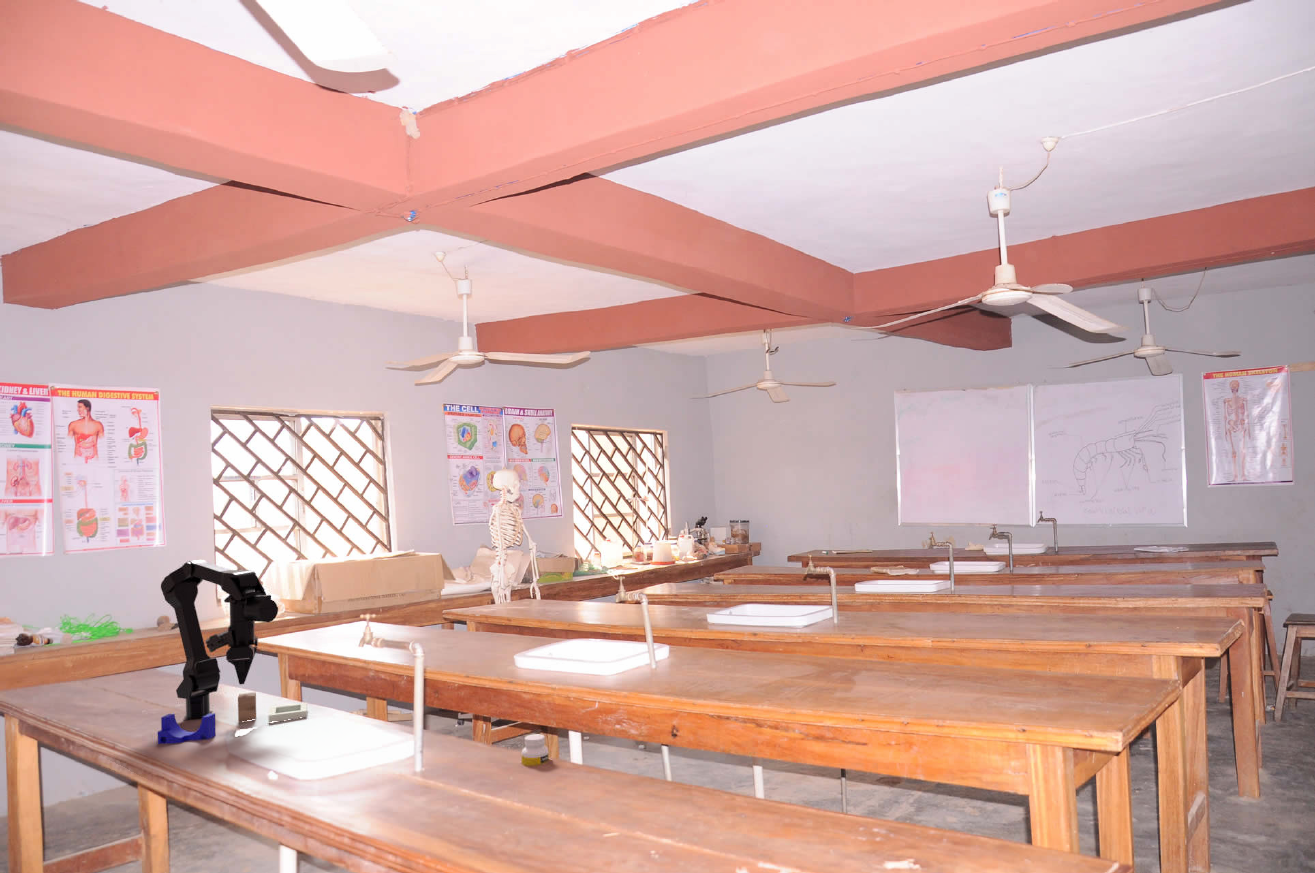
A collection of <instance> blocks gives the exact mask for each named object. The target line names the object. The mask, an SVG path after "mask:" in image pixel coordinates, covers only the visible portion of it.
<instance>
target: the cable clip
mask: <svg viewBox="0 0 1315 873" xmlns="http://www.w3.org/2000/svg"><path fill="white" fill-rule="evenodd" d="M160 721H161V724H160V725H161V730H158V731H157V744H158V745H159V744H182V743H184V742H186V741H188V742H189V740H190V741H191V740H192V741H202V740H203V739H204V740H206V741H207V740H210V739H212V738H214V737H216V713H215V712H214V713H213V712H212V714H207V715H205V716H203V717H202V718H201V722H200V726H199V727H198V729H197V730H196V731H187V730H185V729H183V728H182V727H181V726H180V725H179V724H178V722H177V720H176V715H175V713H169V714H165V715H163V716H162V717H161V720H160ZM180 742H181V743H180Z"/></svg>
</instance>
